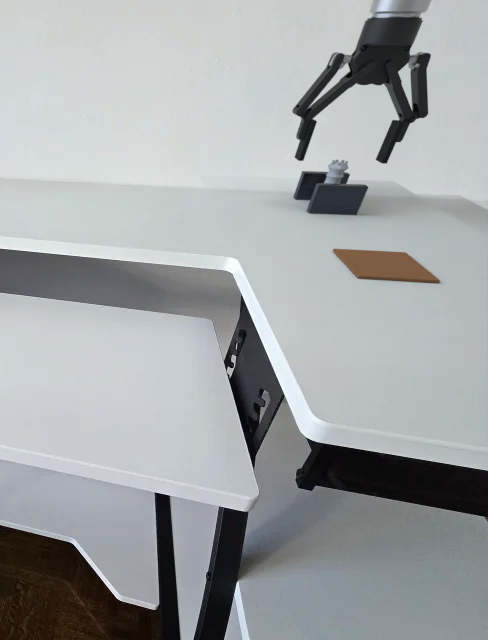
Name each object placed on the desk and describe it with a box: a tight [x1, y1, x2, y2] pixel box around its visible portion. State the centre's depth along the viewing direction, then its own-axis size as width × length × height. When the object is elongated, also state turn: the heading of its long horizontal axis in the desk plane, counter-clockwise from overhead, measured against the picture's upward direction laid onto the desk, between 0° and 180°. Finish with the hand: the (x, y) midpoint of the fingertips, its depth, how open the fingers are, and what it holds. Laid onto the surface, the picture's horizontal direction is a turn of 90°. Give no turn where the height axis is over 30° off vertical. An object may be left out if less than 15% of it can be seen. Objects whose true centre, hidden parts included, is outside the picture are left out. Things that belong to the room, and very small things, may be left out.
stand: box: [293, 170, 369, 216], centre depth 93 cm, size 8×10×5 cm
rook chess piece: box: [324, 159, 349, 184], centre depth 92 cm, size 4×4×8 cm
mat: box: [332, 248, 441, 284], centre depth 72 cm, size 10×10×1 cm
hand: (339, 160), depth 89 cm, fingers open, 13 cm apart
